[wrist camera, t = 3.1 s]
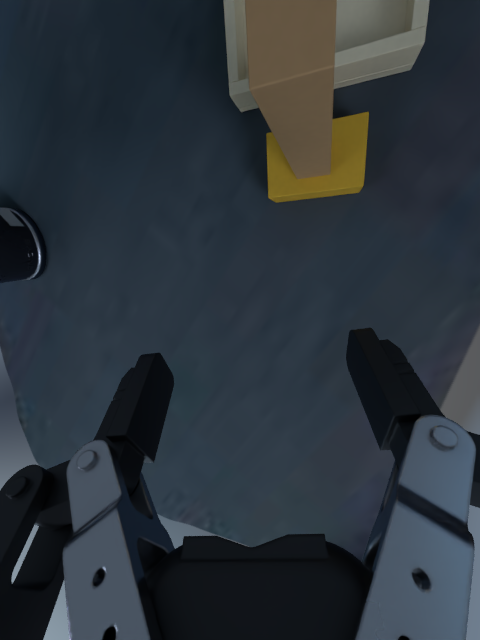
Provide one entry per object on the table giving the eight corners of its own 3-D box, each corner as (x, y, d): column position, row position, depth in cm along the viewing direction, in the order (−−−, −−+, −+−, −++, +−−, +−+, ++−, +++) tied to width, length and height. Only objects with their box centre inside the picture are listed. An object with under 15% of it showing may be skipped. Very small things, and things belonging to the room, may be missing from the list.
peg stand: (359, 192, 21) (431, 91, 6) (275, 202, 23) (185, 145, 8) (363, 128, 19) (467, -189, 5) (273, 145, 22) (164, -36, 7)
